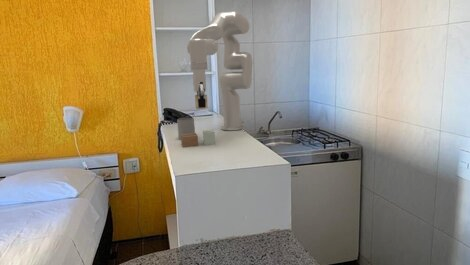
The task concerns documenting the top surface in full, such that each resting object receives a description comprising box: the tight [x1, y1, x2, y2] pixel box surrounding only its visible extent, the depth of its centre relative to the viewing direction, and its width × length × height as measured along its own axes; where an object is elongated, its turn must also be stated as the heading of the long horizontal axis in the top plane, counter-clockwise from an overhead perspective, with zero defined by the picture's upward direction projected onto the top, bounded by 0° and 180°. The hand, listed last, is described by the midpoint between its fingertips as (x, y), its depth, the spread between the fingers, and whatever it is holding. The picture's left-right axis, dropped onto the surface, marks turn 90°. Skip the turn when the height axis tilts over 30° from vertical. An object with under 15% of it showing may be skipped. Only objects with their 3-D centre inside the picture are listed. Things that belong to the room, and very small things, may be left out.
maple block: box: [194, 94, 208, 110], centre depth 171 cm, size 5×5×6 cm
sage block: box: [202, 129, 216, 146], centre depth 174 cm, size 5×5×6 cm
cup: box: [177, 117, 196, 141], centre depth 189 cm, size 8×8×10 cm
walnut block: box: [180, 132, 199, 148], centre depth 174 cm, size 7×7×5 cm
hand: (201, 106), depth 171 cm, fingers closed on maple block, 5 cm apart
